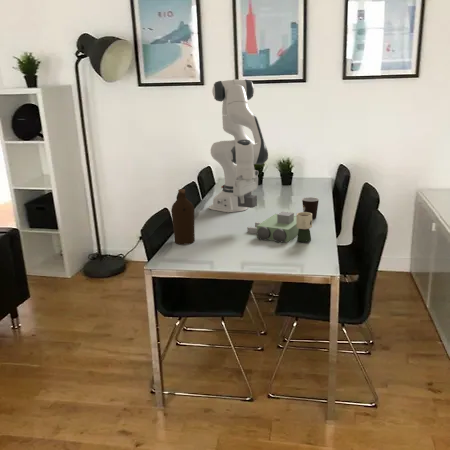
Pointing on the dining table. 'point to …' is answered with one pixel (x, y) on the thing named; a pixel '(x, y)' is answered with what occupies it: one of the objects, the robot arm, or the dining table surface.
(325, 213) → the dining table surface
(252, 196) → the grey stepped block
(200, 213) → the dining table surface
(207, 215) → the dining table surface
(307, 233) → the character mug
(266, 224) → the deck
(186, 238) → the olive oil
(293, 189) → the dining table surface
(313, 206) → the coffee mug
